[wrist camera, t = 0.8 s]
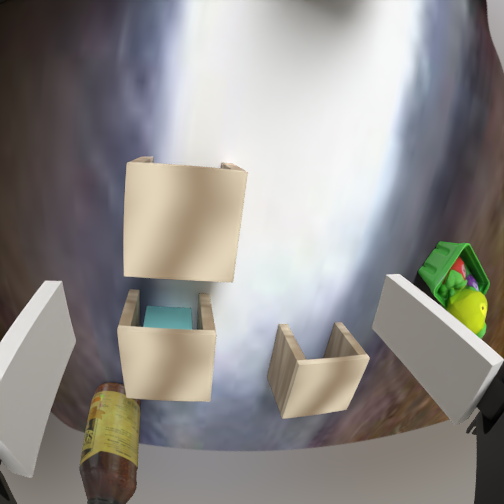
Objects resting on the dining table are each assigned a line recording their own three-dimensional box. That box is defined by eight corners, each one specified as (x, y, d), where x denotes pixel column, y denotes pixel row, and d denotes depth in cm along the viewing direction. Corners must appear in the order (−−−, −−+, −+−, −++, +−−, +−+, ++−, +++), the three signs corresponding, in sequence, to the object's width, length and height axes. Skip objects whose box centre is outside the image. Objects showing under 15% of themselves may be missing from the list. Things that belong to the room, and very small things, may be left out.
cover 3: (266, 376, 36) (282, 418, 30) (278, 323, 34) (299, 365, 27) (324, 372, 38) (346, 409, 32) (341, 322, 36) (369, 358, 29)
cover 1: (137, 243, 27) (124, 276, 21) (142, 156, 25) (126, 162, 18) (222, 249, 29) (233, 282, 23) (232, 163, 27) (247, 172, 20)
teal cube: (148, 340, 31) (145, 367, 27) (147, 305, 30) (142, 330, 26) (189, 342, 32) (190, 370, 28) (190, 307, 31) (192, 333, 27)
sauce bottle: (92, 375, 32) (63, 521, 13) (142, 384, 33) (136, 536, 15) (96, 408, 34) (78, 539, 15) (141, 416, 35) (139, 550, 17)
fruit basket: (468, 270, 38) (521, 304, 28) (434, 317, 40) (483, 359, 29) (440, 227, 34) (506, 260, 24) (400, 282, 35) (459, 329, 25)
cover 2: (133, 352, 31) (126, 397, 25) (129, 289, 29) (117, 330, 22) (204, 355, 33) (210, 401, 27) (209, 293, 31) (216, 335, 24)
